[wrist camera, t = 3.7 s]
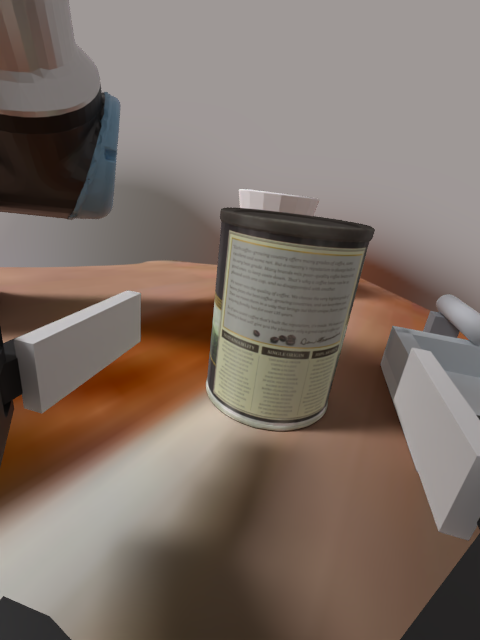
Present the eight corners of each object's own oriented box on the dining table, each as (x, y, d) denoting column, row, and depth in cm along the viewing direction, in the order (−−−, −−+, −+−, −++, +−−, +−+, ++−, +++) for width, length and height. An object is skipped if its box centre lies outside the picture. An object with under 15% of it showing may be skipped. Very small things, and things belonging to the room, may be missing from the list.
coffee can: (186, 369, 29) (197, 202, 23) (279, 354, 34) (305, 213, 28) (242, 449, 20) (278, 220, 15) (354, 413, 25) (410, 231, 20)
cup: (310, 285, 63) (327, 200, 57) (289, 301, 51) (308, 196, 46) (247, 271, 68) (257, 191, 62) (215, 283, 56) (224, 186, 51)
